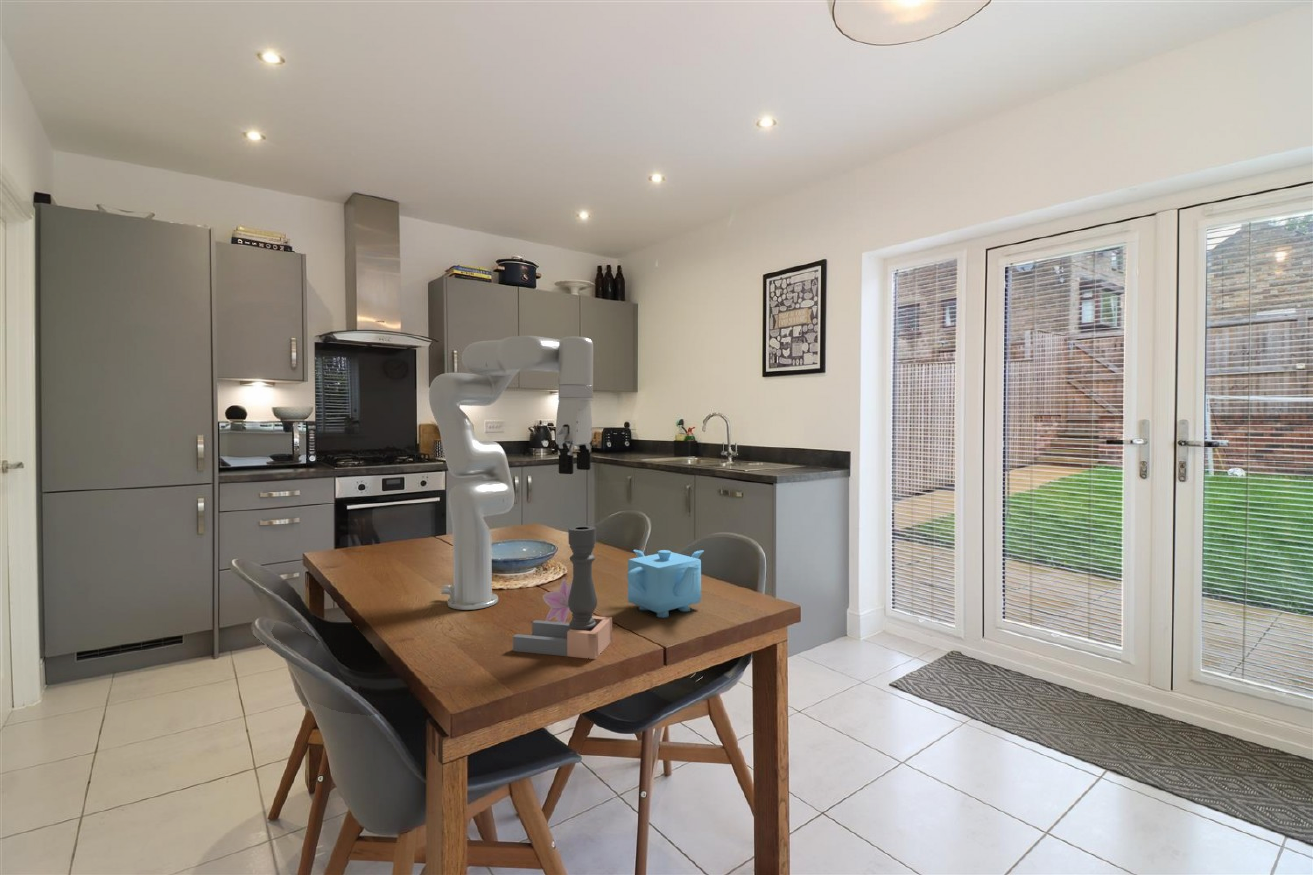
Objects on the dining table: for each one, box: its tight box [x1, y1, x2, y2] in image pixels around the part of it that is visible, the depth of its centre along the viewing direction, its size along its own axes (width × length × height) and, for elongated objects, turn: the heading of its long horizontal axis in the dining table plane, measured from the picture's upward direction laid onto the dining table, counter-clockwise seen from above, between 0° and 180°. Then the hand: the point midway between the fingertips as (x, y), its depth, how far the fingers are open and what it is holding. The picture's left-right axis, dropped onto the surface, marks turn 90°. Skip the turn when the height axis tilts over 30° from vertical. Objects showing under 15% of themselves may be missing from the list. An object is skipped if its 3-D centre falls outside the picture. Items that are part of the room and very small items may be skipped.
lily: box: [542, 577, 572, 623], centre depth 145 cm, size 12×12×10 cm
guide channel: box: [512, 615, 613, 660], centre depth 129 cm, size 18×10×5 cm, turn 76°
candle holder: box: [567, 525, 598, 631], centre depth 128 cm, size 6×6×25 cm
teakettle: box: [626, 549, 705, 619], centre depth 154 cm, size 19×19×15 cm
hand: (575, 471), depth 135 cm, fingers open, 9 cm apart
